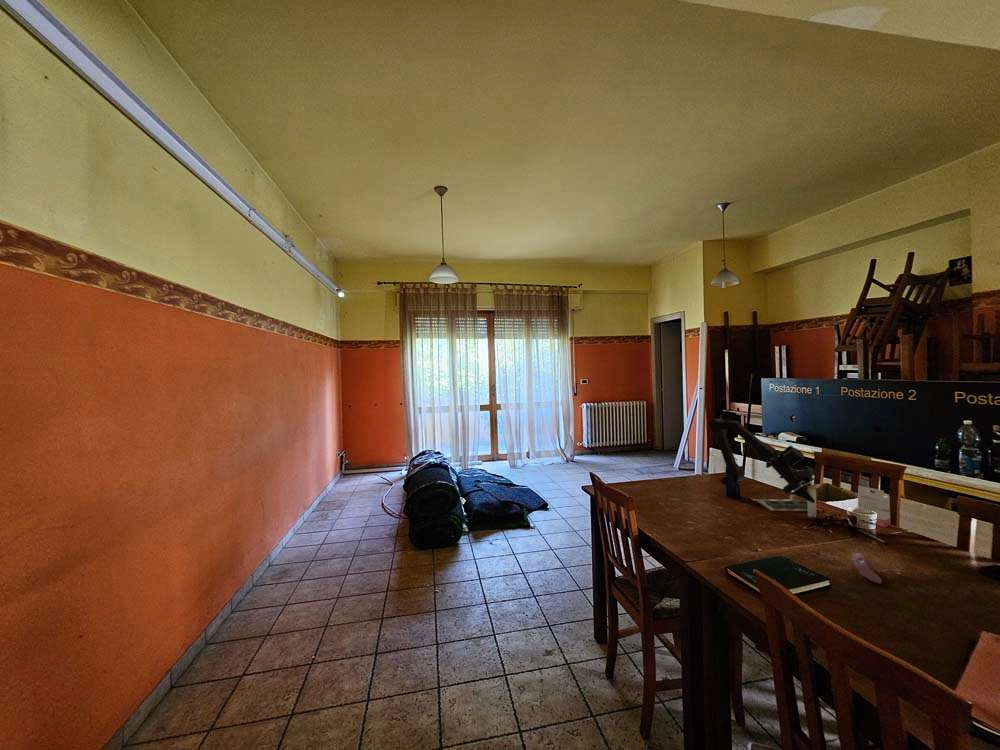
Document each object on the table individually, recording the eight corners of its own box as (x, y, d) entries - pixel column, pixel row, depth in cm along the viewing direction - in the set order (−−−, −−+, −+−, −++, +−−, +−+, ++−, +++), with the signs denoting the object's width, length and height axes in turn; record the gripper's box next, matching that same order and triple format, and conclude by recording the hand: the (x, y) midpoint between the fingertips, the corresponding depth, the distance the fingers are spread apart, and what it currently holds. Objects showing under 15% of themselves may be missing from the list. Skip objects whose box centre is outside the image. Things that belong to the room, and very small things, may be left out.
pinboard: (772, 510, 168) (772, 502, 168) (756, 501, 180) (756, 494, 180) (816, 511, 167) (816, 503, 167) (797, 501, 178) (797, 494, 178)
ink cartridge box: (891, 525, 150) (890, 489, 150) (885, 527, 148) (884, 491, 148) (863, 517, 158) (862, 483, 158) (857, 520, 156) (856, 485, 156)
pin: (810, 517, 160) (810, 487, 160) (805, 514, 163) (805, 485, 163) (818, 517, 160) (817, 487, 160) (813, 514, 163) (812, 485, 163)
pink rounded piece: (860, 572, 120) (847, 550, 122) (878, 569, 118) (864, 547, 120) (865, 586, 112) (850, 562, 114) (884, 584, 110) (869, 560, 112)
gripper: (791, 463, 159) (824, 496, 150) (808, 457, 170) (840, 487, 160) (770, 477, 166) (800, 509, 157) (788, 471, 176) (817, 500, 167)
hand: (815, 501), depth 160 cm, fingers closed on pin, 3 cm apart
